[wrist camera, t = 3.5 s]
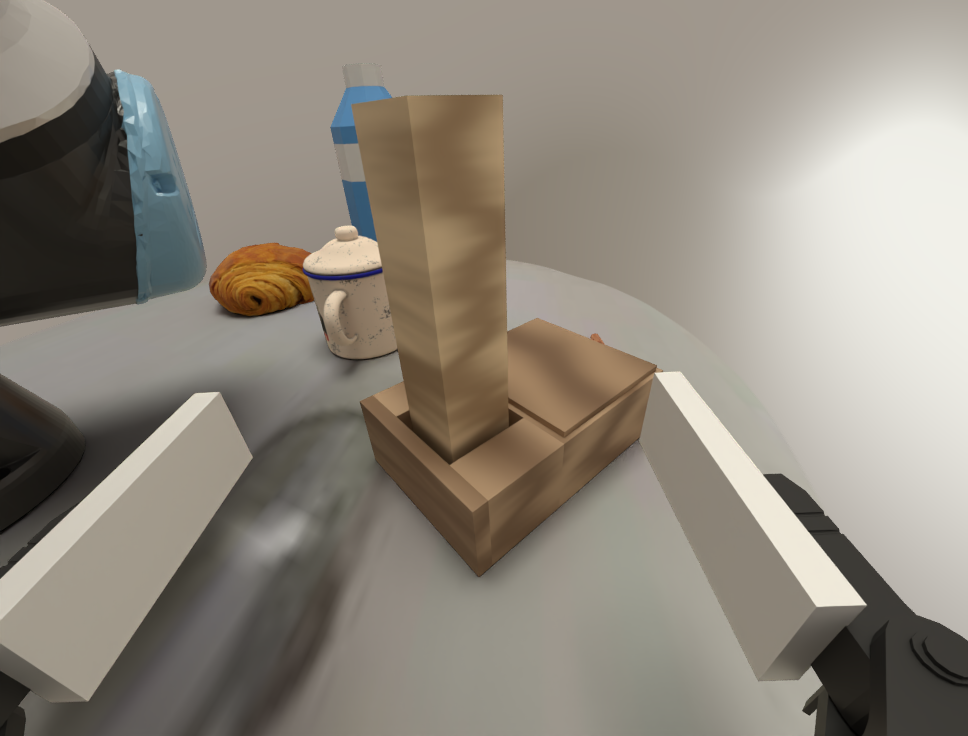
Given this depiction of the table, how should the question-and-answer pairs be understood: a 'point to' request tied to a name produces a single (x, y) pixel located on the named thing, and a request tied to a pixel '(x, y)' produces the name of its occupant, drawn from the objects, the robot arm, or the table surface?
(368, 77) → the water bottle
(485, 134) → the wooden key peg
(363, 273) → the teacup with lid
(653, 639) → the table surface
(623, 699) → the table surface
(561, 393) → the wooden sliding lid box
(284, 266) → the croissant
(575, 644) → the table surface
